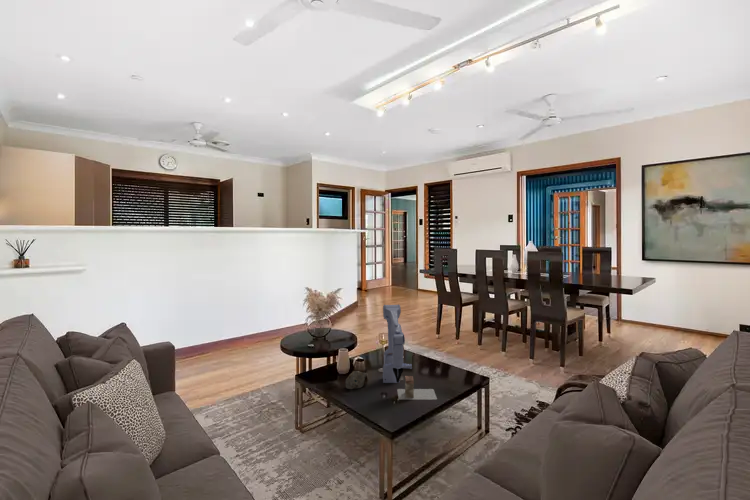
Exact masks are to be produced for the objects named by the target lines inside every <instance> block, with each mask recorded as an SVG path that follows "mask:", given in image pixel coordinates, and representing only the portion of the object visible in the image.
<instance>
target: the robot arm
mask: <svg viewBox="0 0 750 500" xmlns="http://www.w3.org/2000/svg"><path fill="white" fill-rule="evenodd" d="M382 313H383V315H382V316H383V319H384V320H386V323H387V340H388V341H387V342H388V348H387V349H385V351H383V365H382V384H384V383H385V384H399V383H400V382H401V381H400V380H401V377H402V374H403V372H404V369H409V370H412V369H413V366H412V363H404V345H405V341H406V340H405V339H406V338H405V334H404V332H403V330H402V327H401V324H400V323H399V319H400V316H401V313H402V309H401V304H383V307H382Z"/></svg>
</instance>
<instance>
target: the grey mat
mask: <svg viewBox="0 0 750 500" xmlns="http://www.w3.org/2000/svg"><path fill="white" fill-rule="evenodd" d="M396 390H397V392H396V393H397V396H398V398H397V399H398V400H403V401H404V400H406V401H407V400H410V401H411V400H413V401H415V400H419V401H420V400H423V401H424V400H426V401H427V400H429V401H430V400H437V401H438V398H437V394H436V393H435V388H434V389H433V388H414V398H406V395H405V388H397V389H396Z"/></svg>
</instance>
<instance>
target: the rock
mask: <svg viewBox="0 0 750 500" xmlns="http://www.w3.org/2000/svg"><path fill="white" fill-rule="evenodd" d="M366 376H367V373H366V372H362V371H359V370H352V372H351V373H350V374H349V375H348V376H347V378H346V379H345V388H346V389H348V390H353V389H360V388H362V387H363V386H364V384H365V379H366Z"/></svg>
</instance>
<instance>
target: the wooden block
mask: <svg viewBox="0 0 750 500" xmlns="http://www.w3.org/2000/svg"><path fill="white" fill-rule="evenodd" d="M414 382H415V381H414V376H413V375H405V376H404V389H405V395H406V398H414V389H415V388H414V387H415V383H414Z"/></svg>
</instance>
